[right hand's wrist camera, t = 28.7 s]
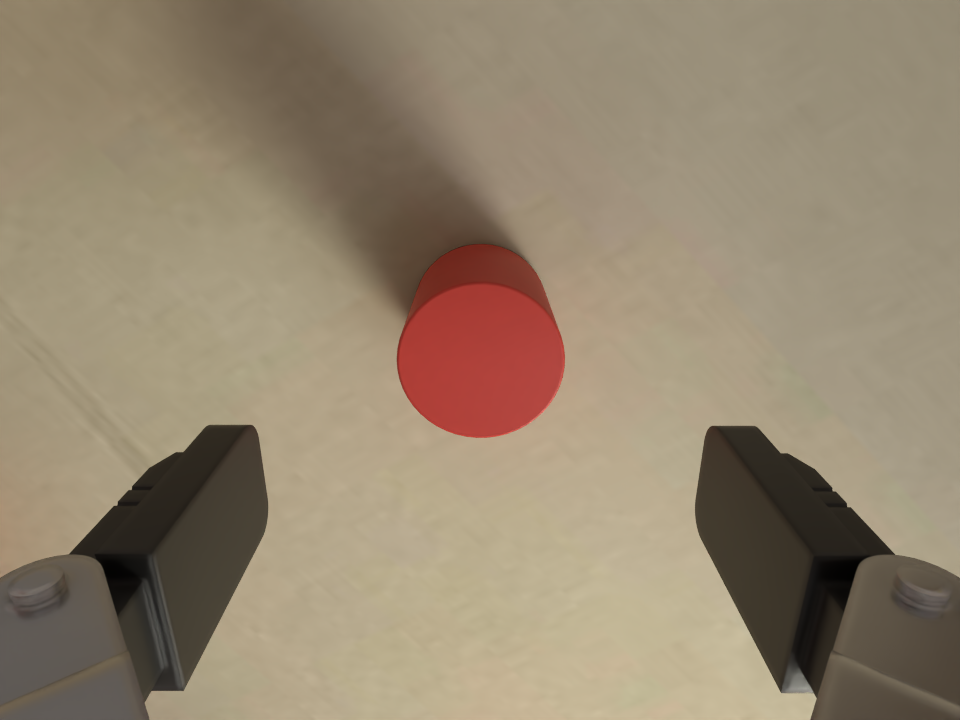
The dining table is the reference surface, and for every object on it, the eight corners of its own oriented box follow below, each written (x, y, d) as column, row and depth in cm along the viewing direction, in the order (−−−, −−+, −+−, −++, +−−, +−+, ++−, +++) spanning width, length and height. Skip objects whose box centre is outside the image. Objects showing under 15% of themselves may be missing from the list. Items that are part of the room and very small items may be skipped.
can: (394, 338, 21) (371, 399, 17) (448, 220, 20) (438, 252, 15) (510, 389, 22) (517, 462, 17) (569, 279, 20) (595, 326, 16)
